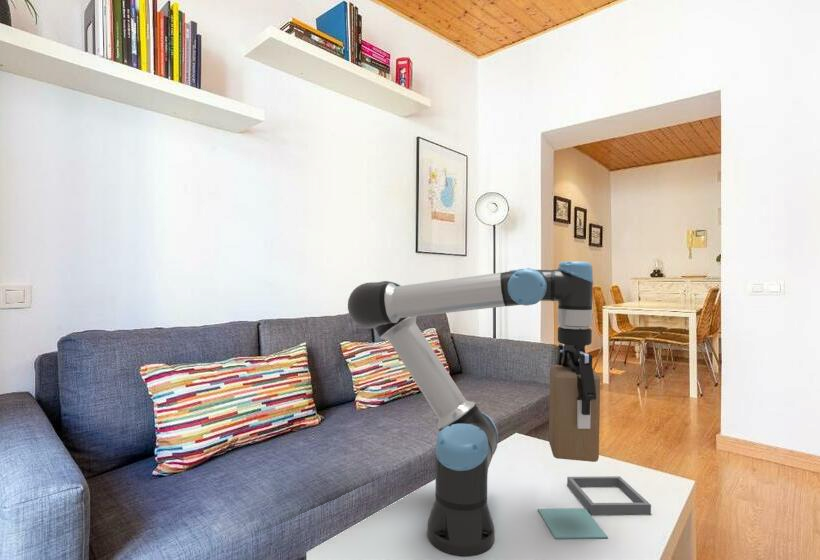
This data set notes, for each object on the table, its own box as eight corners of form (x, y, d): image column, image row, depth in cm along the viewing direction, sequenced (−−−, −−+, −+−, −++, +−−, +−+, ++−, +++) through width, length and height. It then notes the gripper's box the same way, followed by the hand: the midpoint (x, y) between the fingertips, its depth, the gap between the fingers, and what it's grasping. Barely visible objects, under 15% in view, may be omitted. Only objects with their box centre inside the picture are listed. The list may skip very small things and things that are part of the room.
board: (555, 539, 98) (555, 537, 98) (537, 510, 110) (537, 508, 110) (607, 538, 99) (607, 536, 99) (584, 509, 111) (584, 508, 111)
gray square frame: (591, 515, 108) (591, 505, 108) (567, 485, 123) (567, 476, 123) (650, 514, 109) (650, 504, 109) (619, 485, 124) (619, 476, 124)
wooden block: (590, 446, 108) (592, 365, 108) (599, 464, 98) (601, 375, 98) (548, 443, 110) (549, 363, 110) (553, 459, 100) (554, 372, 100)
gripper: (615, 334, 92) (613, 437, 93) (570, 321, 116) (568, 404, 116) (579, 333, 92) (578, 438, 92) (542, 321, 115) (540, 404, 116)
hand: (572, 419), depth 104 cm, fingers closed on wooden block, 11 cm apart
